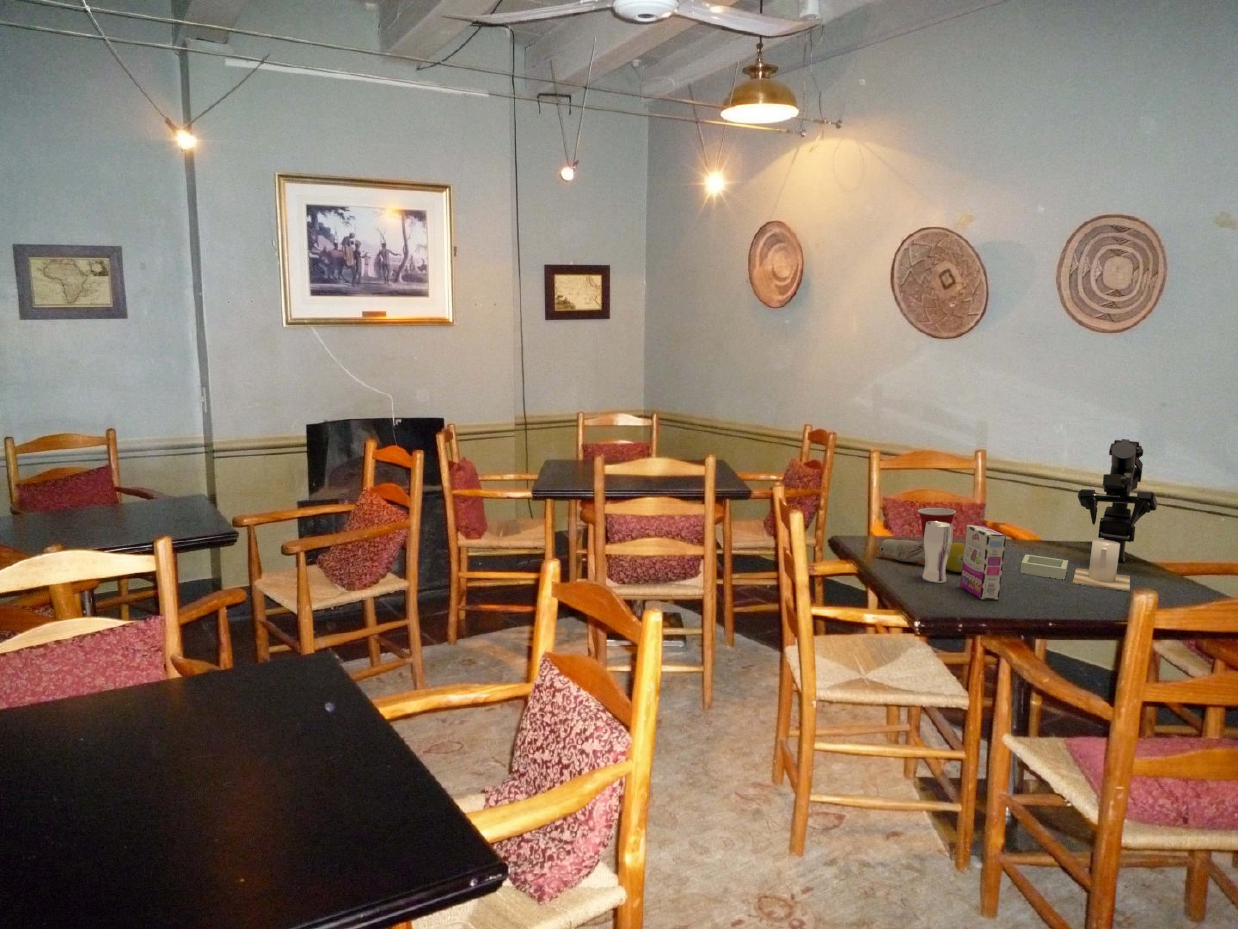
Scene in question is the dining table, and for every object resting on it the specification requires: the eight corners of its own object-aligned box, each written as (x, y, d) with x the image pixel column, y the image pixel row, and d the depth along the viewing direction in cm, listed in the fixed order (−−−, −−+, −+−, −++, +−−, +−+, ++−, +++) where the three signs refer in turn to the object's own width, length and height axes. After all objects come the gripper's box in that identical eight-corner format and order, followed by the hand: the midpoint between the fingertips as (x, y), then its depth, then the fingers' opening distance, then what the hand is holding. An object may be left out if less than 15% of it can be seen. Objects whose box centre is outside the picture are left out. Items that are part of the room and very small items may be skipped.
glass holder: (1024, 564, 246) (1025, 554, 245) (1066, 571, 240) (1068, 560, 240) (1020, 573, 237) (1021, 562, 236) (1064, 580, 231) (1065, 569, 231)
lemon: (935, 572, 234) (938, 543, 233) (938, 565, 241) (941, 537, 240) (978, 578, 230) (981, 549, 229) (980, 571, 237) (983, 543, 236)
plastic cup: (920, 542, 269) (924, 504, 267) (956, 548, 262) (960, 509, 261) (909, 548, 260) (913, 509, 258) (946, 555, 254) (950, 515, 252)
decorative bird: (881, 556, 251) (883, 530, 250) (937, 566, 241) (940, 540, 240) (874, 559, 247) (876, 533, 245) (931, 570, 237) (934, 543, 236)
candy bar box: (1000, 600, 211) (1007, 535, 208) (980, 600, 211) (987, 534, 208) (978, 586, 222) (984, 524, 219) (959, 586, 222) (965, 524, 219)
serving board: (1075, 570, 242) (1076, 568, 242) (1129, 578, 235) (1129, 576, 235) (1072, 583, 228) (1072, 581, 228) (1129, 592, 222) (1129, 590, 221)
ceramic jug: (1089, 573, 236) (1094, 538, 234) (1116, 578, 232) (1121, 542, 231) (1086, 580, 229) (1090, 543, 228) (1113, 584, 226) (1118, 547, 224)
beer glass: (944, 576, 230) (949, 521, 228) (951, 584, 224) (957, 527, 221) (917, 575, 231) (922, 520, 229) (923, 582, 224) (929, 526, 222)
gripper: (1078, 461, 246) (1068, 507, 240) (1154, 462, 234) (1145, 511, 227) (1086, 483, 253) (1077, 528, 247) (1160, 485, 240) (1152, 533, 234)
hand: (1111, 525), depth 238 cm, fingers open, 9 cm apart
